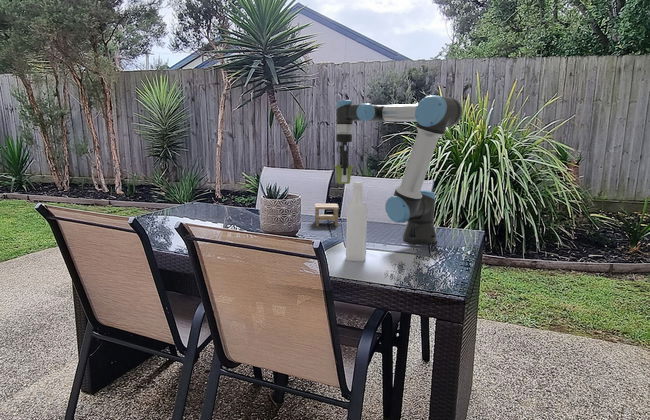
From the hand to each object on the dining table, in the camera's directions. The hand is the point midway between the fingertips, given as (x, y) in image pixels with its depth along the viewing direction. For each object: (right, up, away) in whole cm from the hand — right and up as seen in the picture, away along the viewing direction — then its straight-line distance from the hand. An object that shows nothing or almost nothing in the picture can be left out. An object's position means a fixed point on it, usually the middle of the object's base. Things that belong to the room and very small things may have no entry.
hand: (343, 180), depth 210 cm
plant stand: (-8, -22, +20) cm, 31 cm away
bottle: (+3, -33, -41) cm, 53 cm away
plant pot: (0, -1, 0) cm, 1 cm away
